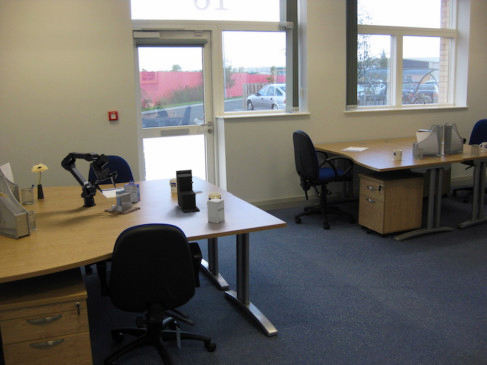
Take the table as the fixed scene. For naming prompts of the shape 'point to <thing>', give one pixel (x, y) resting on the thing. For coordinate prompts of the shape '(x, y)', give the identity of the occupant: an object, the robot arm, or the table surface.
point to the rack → (123, 205)
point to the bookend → (186, 191)
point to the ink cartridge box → (133, 191)
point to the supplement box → (215, 210)
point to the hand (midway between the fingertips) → (109, 190)
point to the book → (119, 196)
